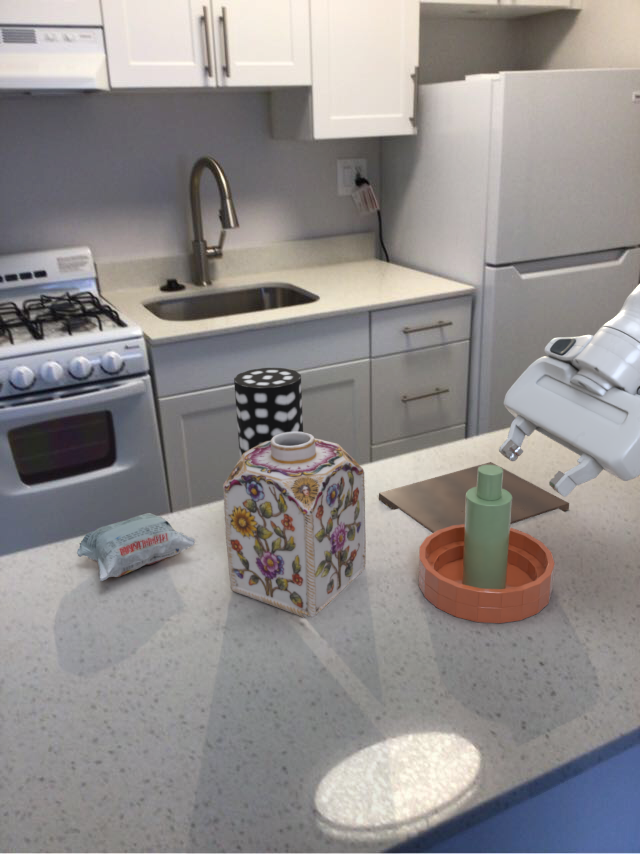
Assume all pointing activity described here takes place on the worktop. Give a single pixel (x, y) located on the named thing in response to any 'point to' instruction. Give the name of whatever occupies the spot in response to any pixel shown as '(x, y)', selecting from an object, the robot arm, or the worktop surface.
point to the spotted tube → (267, 405)
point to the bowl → (514, 603)
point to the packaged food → (132, 544)
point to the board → (446, 498)
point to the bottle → (487, 531)
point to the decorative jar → (295, 522)
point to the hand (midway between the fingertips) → (529, 472)
